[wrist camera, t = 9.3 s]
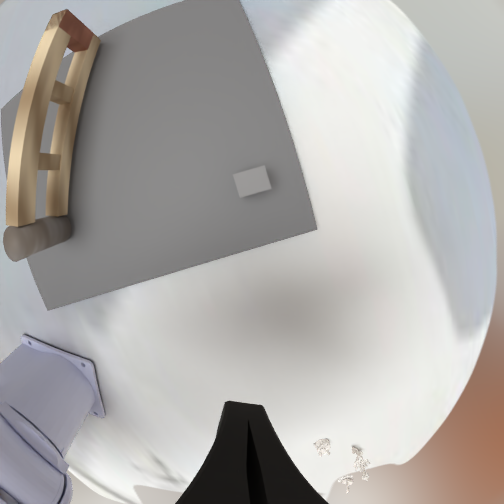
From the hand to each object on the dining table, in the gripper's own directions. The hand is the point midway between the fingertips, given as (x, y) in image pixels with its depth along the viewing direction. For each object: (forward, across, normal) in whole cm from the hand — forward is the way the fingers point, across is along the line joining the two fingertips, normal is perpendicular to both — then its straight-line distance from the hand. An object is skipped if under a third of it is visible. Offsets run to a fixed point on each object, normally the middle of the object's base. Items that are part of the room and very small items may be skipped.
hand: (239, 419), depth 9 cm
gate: (+9, +14, -9) cm, 19 cm away
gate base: (+10, +11, -9) cm, 18 cm away
